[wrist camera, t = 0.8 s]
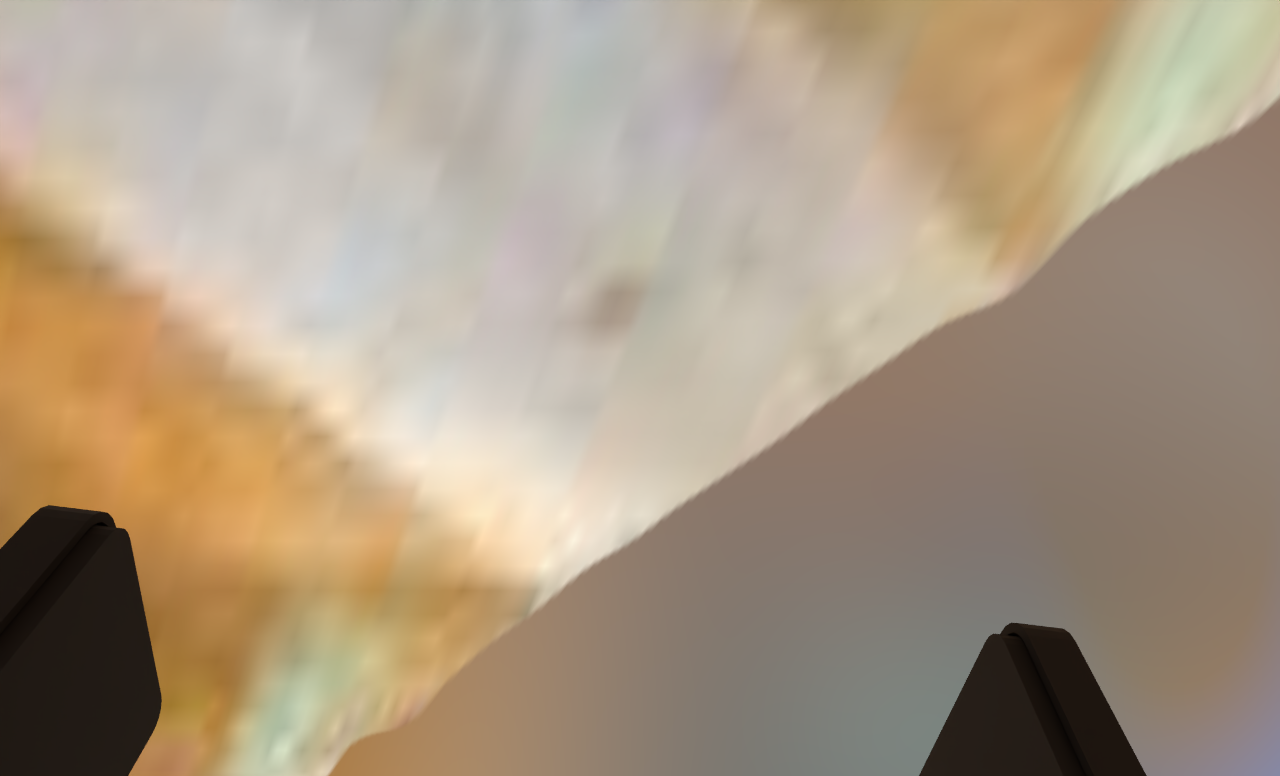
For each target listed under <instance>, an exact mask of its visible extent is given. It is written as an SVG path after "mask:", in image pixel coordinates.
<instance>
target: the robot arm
mask: <svg viewBox="0 0 1280 776" xmlns="http://www.w3.org/2000/svg"><path fill="white" fill-rule="evenodd" d="M161 702H162V700H161V692H160V687H159V682H158V677H157V672H156V667H155V662H154V657H153V652H152V646H151V641H150V636H149V631H148V626H147V621H146V616H145V611H144V606H143V601H142V596H141V591H140V586H139V581H138V576H137V571H136V566H135V561H134V556H133V551H132V546H131V541H130V537H129V534H128V532H127V531H126V530H125V529H122V528H116V526H115V523H114V520H113V518H112V517H111V516H110V515H109V514H108V513H105V512H100V511H91V510H83V509H75V508H67V507H58V506H50V505H48V506H46V507H43V508H40V509H39V510H38V511H37V512H35V513H34V514H33V515H32V516H31V517H30V518H29V519H28V520H27V521H26V522H25V523H24V525H23V526H22V527H21V528H20V529H19V530H18V531H17V532H16V533H15V534H14V535H13V536H12V537H11V538H10V539H9V540H8V541H7V543H6V544H5V545H4V546H3V547H2V548H1V549H0V776H128V775H129V773H130V771H131V770H132V768H133V766H134V764H135V763H136V761H137V759H138V757H139V756H140V754H141V752H142V750H143V749H144V747H145V745H146V743H147V742H148V740H149V738H150V736H151V735H152V733H153V731H154V729H155V727H156V724H157V721H158V718H159V714H160V710H161ZM919 776H1146V774H1145V772H1144V770H1143V768H1142V766H1141V765H1140V763H1139V761H1138V759H1137V757H1136V755H1135V753H1134V751H1133V749H1132V748H1131V746H1130V744H1129V742H1128V740H1127V738H1126V736H1125V734H1124V732H1123V730H1122V729H1121V727H1120V725H1119V723H1118V721H1117V719H1116V717H1115V715H1114V714H1113V712H1112V710H1111V708H1110V706H1109V704H1108V702H1107V701H1106V698H1105V697H1104V695H1103V693H1102V691H1101V689H1100V687H1099V685H1098V683H1097V682H1096V679H1095V678H1094V676H1093V674H1092V672H1091V670H1090V668H1089V666H1088V664H1087V663H1086V660H1085V659H1084V657H1083V655H1082V653H1081V651H1080V649H1079V647H1078V645H1077V644H1076V642H1075V640H1074V639H1073V637H1072V636H1071V634H1070V633H1069V632H1067V631H1066V630H1064V629H1061V628H1053V627H1044V626H1036V625H1028V624H1019V623H1010V624H1009V625H1007V626H1005V628H1004V629H1003V631H1002V632H1001V634H992V635H991V636H989V637H988V639H987V640H986V642H985V644H984V646H983V648H982V650H981V652H980V654H979V656H978V658H977V660H976V662H975V664H974V666H973V668H972V670H971V672H970V674H969V676H968V678H967V680H966V682H965V684H964V686H963V688H962V690H961V692H960V694H959V696H958V698H957V700H956V702H955V704H954V706H953V708H952V710H951V712H950V714H949V716H948V718H947V720H946V722H945V725H944V726H943V729H942V730H941V732H940V734H939V737H938V739H937V741H936V743H935V745H934V747H933V749H932V751H931V753H930V755H929V757H928V759H927V761H926V763H925V765H924V767H923V769H922V771H921V773H920V775H919Z"/></svg>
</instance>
